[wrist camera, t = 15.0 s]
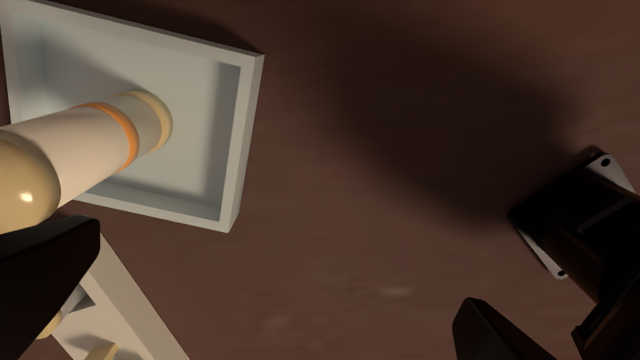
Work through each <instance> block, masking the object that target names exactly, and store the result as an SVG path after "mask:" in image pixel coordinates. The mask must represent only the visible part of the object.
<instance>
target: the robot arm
mask: <svg viewBox="0 0 640 360" xmlns="http://www.w3.org/2000/svg"><path fill="white" fill-rule="evenodd" d="M603 159H605V161H604V163H602V164H601V161H602V160H603ZM518 214H520V216H519V217H518V218H515V216H516V215H518ZM508 218H509V220H510V221H511V222H512V224H513V225H514V226H515V228H516V229H517V230H518V231H519V233H520V234H521V235H522V237H523V238H524V239H525V240H526V242H527V243H528V244H529V246H530V247H531V248H532V249H533V251H534V252H535V253H536V255H537V256H538V257H539V258H540V260H541V261H542V262H543V264H544V265H545V266H546V267H547V269H548V270H549V271H550V273H551V274H552V275H553V276H554V277H555V278H556V279H564V278H566V277H568V276H569V277H570V278H571V279H572V280H573V281H574V282H575V283H576V284H577V285H578V286H579V287H580V288H581V289H582V290H583V291H584V292H585V293H586V294H587V295H588V296H589V297H590V298H591V299H592V300H593V301H594V302H595V303H596V304H597V305H596V306H595V307H594V309H593V310H592V311H591V312H590V314H589V315H588V316H587V317H586V319H585V320H584V321H583V322H582V324H581V325H580V326H576V327H575V329H574V330H573V331H572V332H571V336H572V338H573V340H574V342H575V344H576V347H577V349H578V351H579V353H580V356H581V358H582V360H640V196H639V195H637V194H636V192H635V191H634V189H633V187H632V186H631V184H630V182H629V181H628V179H627V178H626V176H625V174H624V173H623V171H622V169H621V168H620V166H619V164H618V163H617V161H616V160H615V158H614V157H613V156H612V155H610V154H608V153H605V152H601V153H598V154H596V155H595V156H593V157H592V158H590V159H589V160H587V161H585V162H584V163H582V164H581V165H579V166H578V167H576V168H575V169H573V170H571V171H570V172H568V173H567V174H565V175H564V176H562V177H560V178H559V179H557V180H556V181H554V182H553V183H551V184H550V185H548V186H547V187H545V188H544V189H542V190H540V191H539V192H537V193H536V194H535V195H533V196H532V197H530V198H528V199H527V200H525V201H524V202H522V203H521V204H519V205H518V206H516V207H515V208H513V209H512V210H511V211H509V213H508ZM100 247H101V244H100V221H99V220H98V219H97V218H95V217H91V216H86V215H81V214H79V215H74V216H70V217H66V218H62V219H58V220H54V221H50V222H46V223H42V224H38V225H35V226H31V227H27V228H23V229H19V230H15V231H11V232H7V233H3V234H0V360H18V359H19V357H20V356H21V355H22V354H23V353H24V352H25V351H26V349H27V348H28V347H29V346H30V345H31V344H32V342H33V341H34V340H35V339H36V338H37V337H38V336H39V334H40V333H41V332H42V331H43V330H44V329H45V327H46V326H47V325H48V324H49V323H50V322H51V320H52V319H53V318H54V317H55V316H56V314H57V313H58V312H59V310H60V309H61V308H62V306H63V305H64V304H65V302H66V301H67V300H68V298H69V297H70V295H71V294H72V292H73V291H74V290H75V288H76V287H77V285H78V284H79V283H80V281H81V280H82V278H83V277H84V275H85V274H86V273H87V271H88V270H89V268H90V267H91V266H92V264H93V263H94V261H95V260H96V258H97V257H98V255H99V252H100ZM560 270H561V271H560ZM559 271H560V272H559ZM452 333H453V338H454V344H455V349H456V355H457V360H557V359H556V358H554V357H553V356H552V355H551V354H549V353H548V352H547V351H546V350H545V349H543V348H542V347H541V346H540V345H538V344H537V343H536V342H535V341H533V340H532V339H531V338H530V337H528V336H527V335H526V334H525V333H524V332H522V331H521V330H520V329H519V328H517V327H516V326H515V325H514V324H512V323H511V322H510V321H509V320H508V319H506V318H505V317H504V316H503V315H501V314H500V313H499V312H498V311H496V310H495V309H494V308H493V307H491V306H490V305H489V304H488V303H487V302H485V301H483V300H480V299H475V298H471V297H468V298H466V299H465V300H464V301H463V303H462V305H461V307H460V309H459V311H458V313H457V315H456V317H455V319H454V321H453V324H452Z"/></svg>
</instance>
